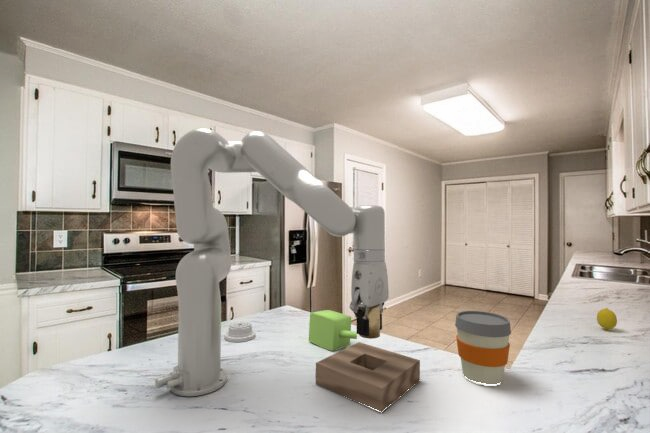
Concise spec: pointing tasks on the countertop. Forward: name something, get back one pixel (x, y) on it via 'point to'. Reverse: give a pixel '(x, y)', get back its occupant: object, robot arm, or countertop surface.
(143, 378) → the countertop surface
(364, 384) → the block
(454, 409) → the countertop surface
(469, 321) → the reusable coffee cup
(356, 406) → the countertop surface
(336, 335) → the gearbox
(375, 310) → the bushing
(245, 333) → the mechanical component
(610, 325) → the lemon
